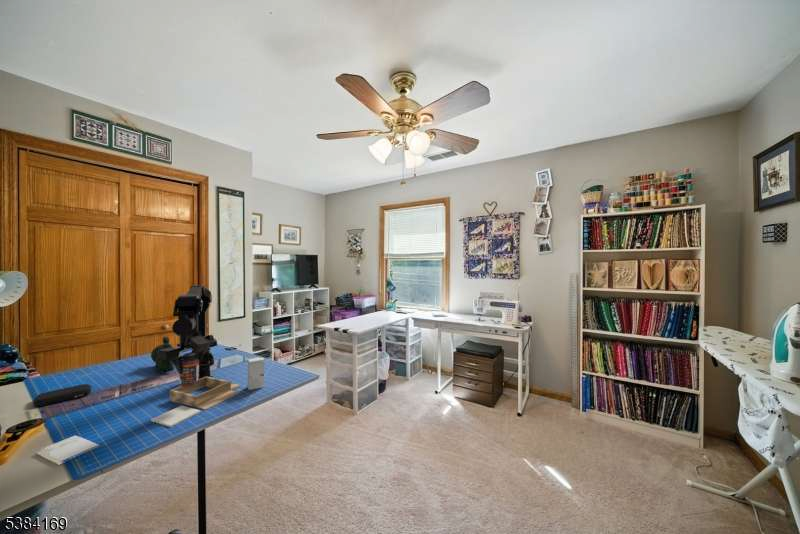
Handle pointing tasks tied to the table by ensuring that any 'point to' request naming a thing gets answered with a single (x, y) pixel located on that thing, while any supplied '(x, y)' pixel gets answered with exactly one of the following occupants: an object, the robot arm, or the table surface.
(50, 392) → the carrying case or bag
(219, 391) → the carton
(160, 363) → the dark green lumpy piece
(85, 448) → the external hard drive
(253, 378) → the skincare box
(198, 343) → the robot arm
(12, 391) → the table surface
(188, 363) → the supplement bottle
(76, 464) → the table surface
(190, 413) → the grey mat
